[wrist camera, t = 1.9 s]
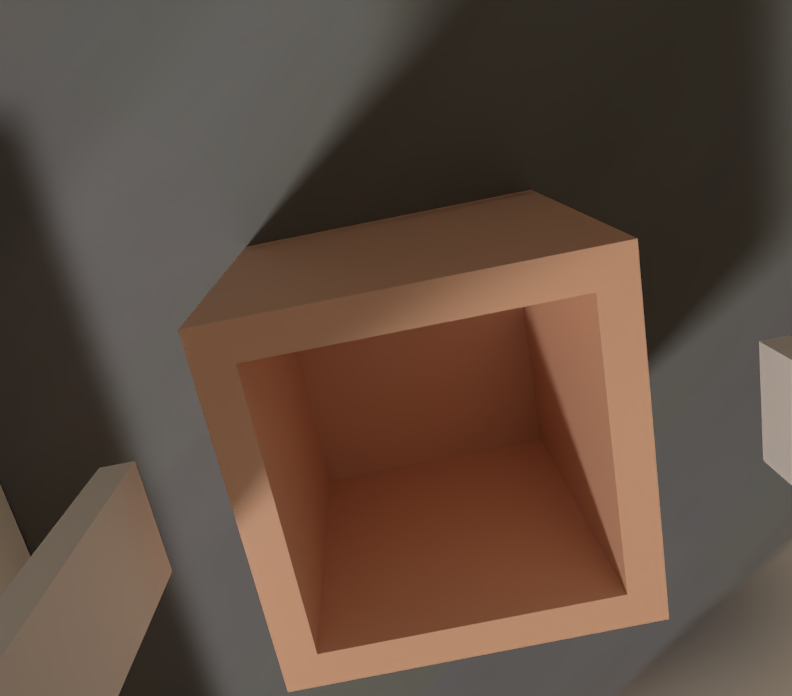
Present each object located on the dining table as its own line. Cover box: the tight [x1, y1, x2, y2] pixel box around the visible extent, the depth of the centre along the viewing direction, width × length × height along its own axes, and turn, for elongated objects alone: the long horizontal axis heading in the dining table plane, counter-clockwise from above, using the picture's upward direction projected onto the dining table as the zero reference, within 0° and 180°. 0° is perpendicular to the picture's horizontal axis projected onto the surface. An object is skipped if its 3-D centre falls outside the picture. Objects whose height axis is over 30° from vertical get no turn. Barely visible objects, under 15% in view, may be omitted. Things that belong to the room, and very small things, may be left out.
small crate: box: [178, 190, 669, 692], centre depth 17 cm, size 8×8×8 cm
